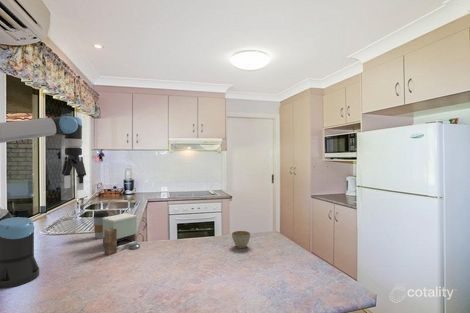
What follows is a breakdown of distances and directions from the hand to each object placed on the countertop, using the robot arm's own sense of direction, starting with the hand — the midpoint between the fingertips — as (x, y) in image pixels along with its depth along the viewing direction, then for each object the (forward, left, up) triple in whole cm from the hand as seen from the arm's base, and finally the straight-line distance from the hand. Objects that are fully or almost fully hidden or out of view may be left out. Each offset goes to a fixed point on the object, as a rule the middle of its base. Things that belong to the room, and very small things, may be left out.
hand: (73, 189), depth 135 cm
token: (+20, -22, -32) cm, 44 cm away
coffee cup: (+20, +10, -32) cm, 39 cm away
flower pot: (+53, -68, -32) cm, 92 cm away
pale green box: (+20, -9, -32) cm, 39 cm away
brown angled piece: (+15, -19, -32) cm, 40 cm away
